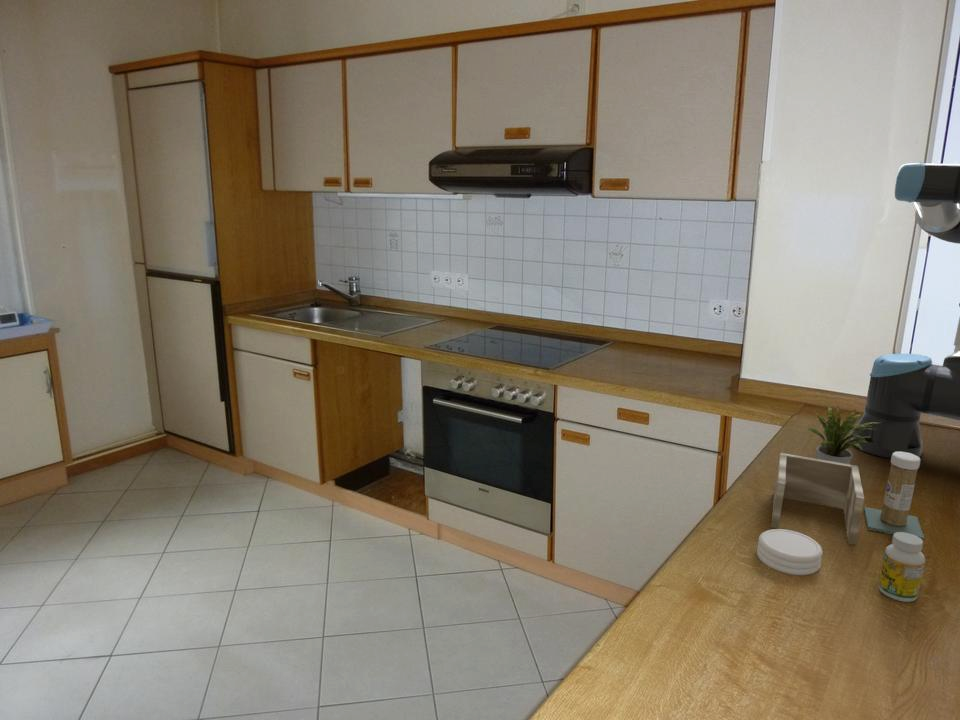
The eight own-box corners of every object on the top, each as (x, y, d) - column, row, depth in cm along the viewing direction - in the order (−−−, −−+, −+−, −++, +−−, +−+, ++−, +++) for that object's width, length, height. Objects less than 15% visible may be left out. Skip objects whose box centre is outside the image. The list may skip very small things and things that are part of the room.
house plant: (854, 501, 143) (868, 425, 139) (785, 479, 152) (796, 407, 148) (875, 481, 153) (889, 409, 149) (809, 462, 162) (821, 394, 158)
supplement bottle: (924, 603, 109) (936, 547, 106) (889, 602, 109) (901, 546, 106) (904, 583, 114) (915, 530, 111) (871, 582, 114) (881, 529, 111)
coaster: (783, 540, 127) (786, 523, 126) (832, 568, 118) (836, 549, 117) (743, 553, 122) (746, 535, 121) (792, 582, 114) (795, 563, 113)
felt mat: (863, 509, 139) (864, 506, 139) (916, 519, 136) (917, 516, 136) (867, 529, 131) (868, 526, 131) (923, 540, 128) (924, 537, 128)
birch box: (774, 493, 145) (780, 452, 143) (850, 508, 140) (857, 465, 138) (771, 527, 131) (778, 482, 129) (855, 544, 126) (864, 498, 123)
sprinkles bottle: (874, 516, 136) (886, 450, 132) (896, 515, 136) (909, 450, 133) (890, 527, 131) (903, 460, 128) (912, 527, 132) (926, 460, 128)
